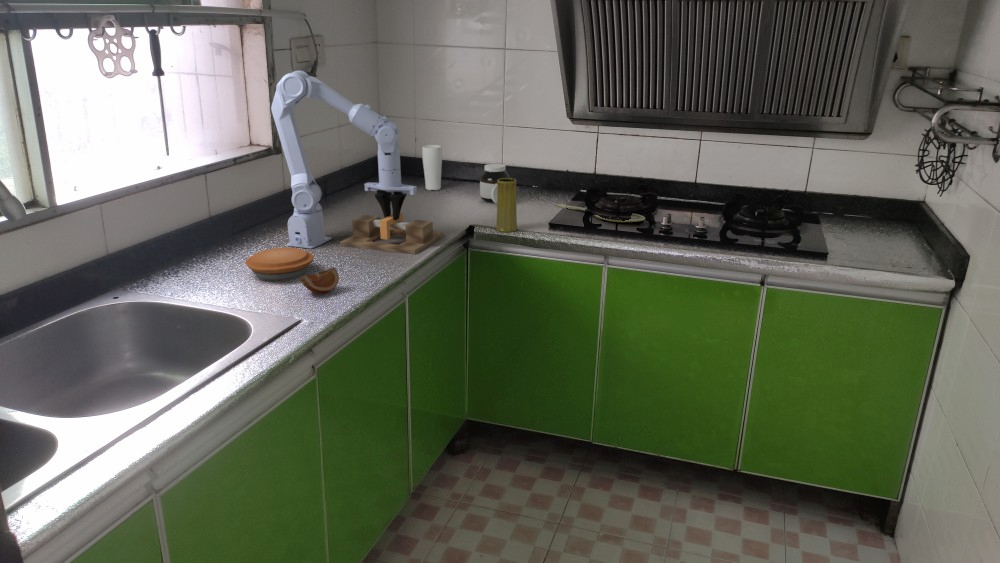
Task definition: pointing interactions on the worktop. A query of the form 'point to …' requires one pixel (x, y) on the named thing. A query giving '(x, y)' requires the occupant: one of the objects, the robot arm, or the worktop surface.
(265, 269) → the pie
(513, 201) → the vase
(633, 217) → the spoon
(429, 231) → the hook stand
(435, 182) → the drinking glass
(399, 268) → the worktop surface
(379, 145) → the robot arm
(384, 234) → the tan wooden angled block
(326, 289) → the fruit slice
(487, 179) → the spread jar
